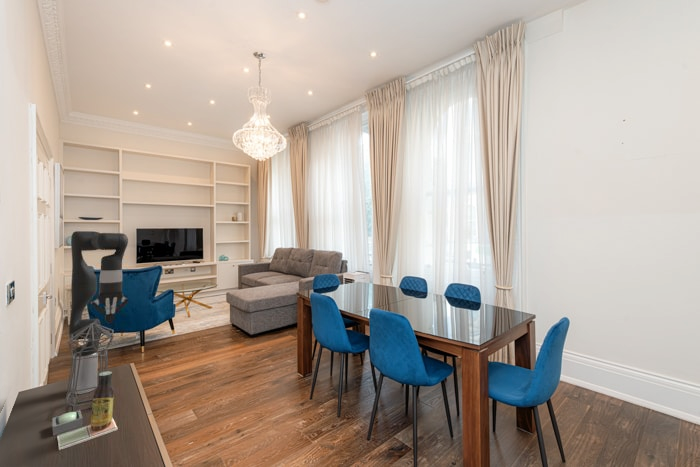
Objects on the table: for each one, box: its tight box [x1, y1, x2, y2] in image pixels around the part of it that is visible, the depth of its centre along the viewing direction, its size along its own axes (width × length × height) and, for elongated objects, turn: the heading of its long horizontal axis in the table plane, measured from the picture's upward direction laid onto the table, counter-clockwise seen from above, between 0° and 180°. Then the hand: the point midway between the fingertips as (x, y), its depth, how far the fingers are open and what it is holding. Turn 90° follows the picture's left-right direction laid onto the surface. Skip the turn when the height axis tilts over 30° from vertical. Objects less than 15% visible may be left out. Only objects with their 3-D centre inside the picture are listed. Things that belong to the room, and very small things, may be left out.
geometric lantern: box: [64, 323, 115, 412], centre depth 133 cm, size 16×16×35 cm
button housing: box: [51, 409, 84, 437], centre depth 117 cm, size 8×8×3 cm
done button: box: [58, 411, 76, 424], centre depth 117 cm, size 5×5×4 cm
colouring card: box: [56, 417, 119, 451], centre depth 113 cm, size 10×16×1 cm, turn 136°
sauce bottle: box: [90, 370, 115, 431], centre depth 116 cm, size 7×6×20 cm
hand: (109, 322), depth 128 cm, fingers closed
